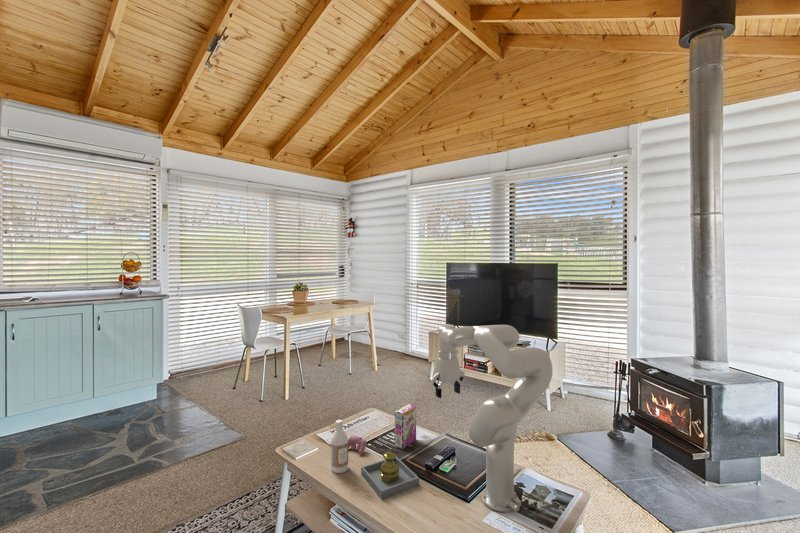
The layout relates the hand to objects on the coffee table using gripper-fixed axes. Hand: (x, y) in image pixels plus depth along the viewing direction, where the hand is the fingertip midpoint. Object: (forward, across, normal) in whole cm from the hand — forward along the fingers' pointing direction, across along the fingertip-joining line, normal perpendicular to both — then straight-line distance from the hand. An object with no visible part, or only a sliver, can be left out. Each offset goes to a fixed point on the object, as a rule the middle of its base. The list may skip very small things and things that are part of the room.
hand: (448, 394), depth 158 cm
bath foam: (+28, +42, -18) cm, 54 cm away
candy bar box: (+28, +8, -22) cm, 37 cm away
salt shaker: (+28, +28, -1) cm, 39 cm away
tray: (+28, +28, -1) cm, 40 cm away
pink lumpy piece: (+29, +31, -28) cm, 50 cm away
